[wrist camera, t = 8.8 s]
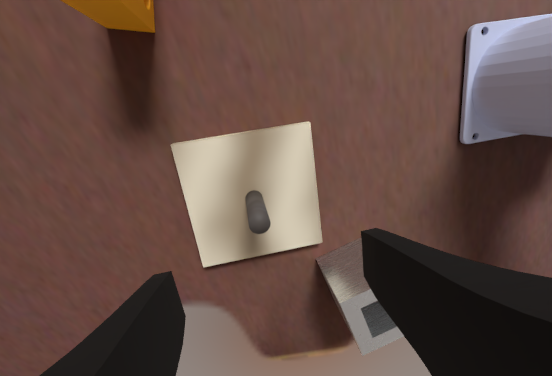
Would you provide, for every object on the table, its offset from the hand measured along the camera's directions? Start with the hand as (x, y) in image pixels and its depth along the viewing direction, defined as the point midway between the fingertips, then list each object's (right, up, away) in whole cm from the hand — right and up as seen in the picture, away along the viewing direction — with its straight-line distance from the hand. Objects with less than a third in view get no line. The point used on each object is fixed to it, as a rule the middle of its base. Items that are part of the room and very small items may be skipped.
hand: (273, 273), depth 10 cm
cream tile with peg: (-2, +3, +9) cm, 10 cm away
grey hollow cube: (+7, -4, +13) cm, 15 cm away
